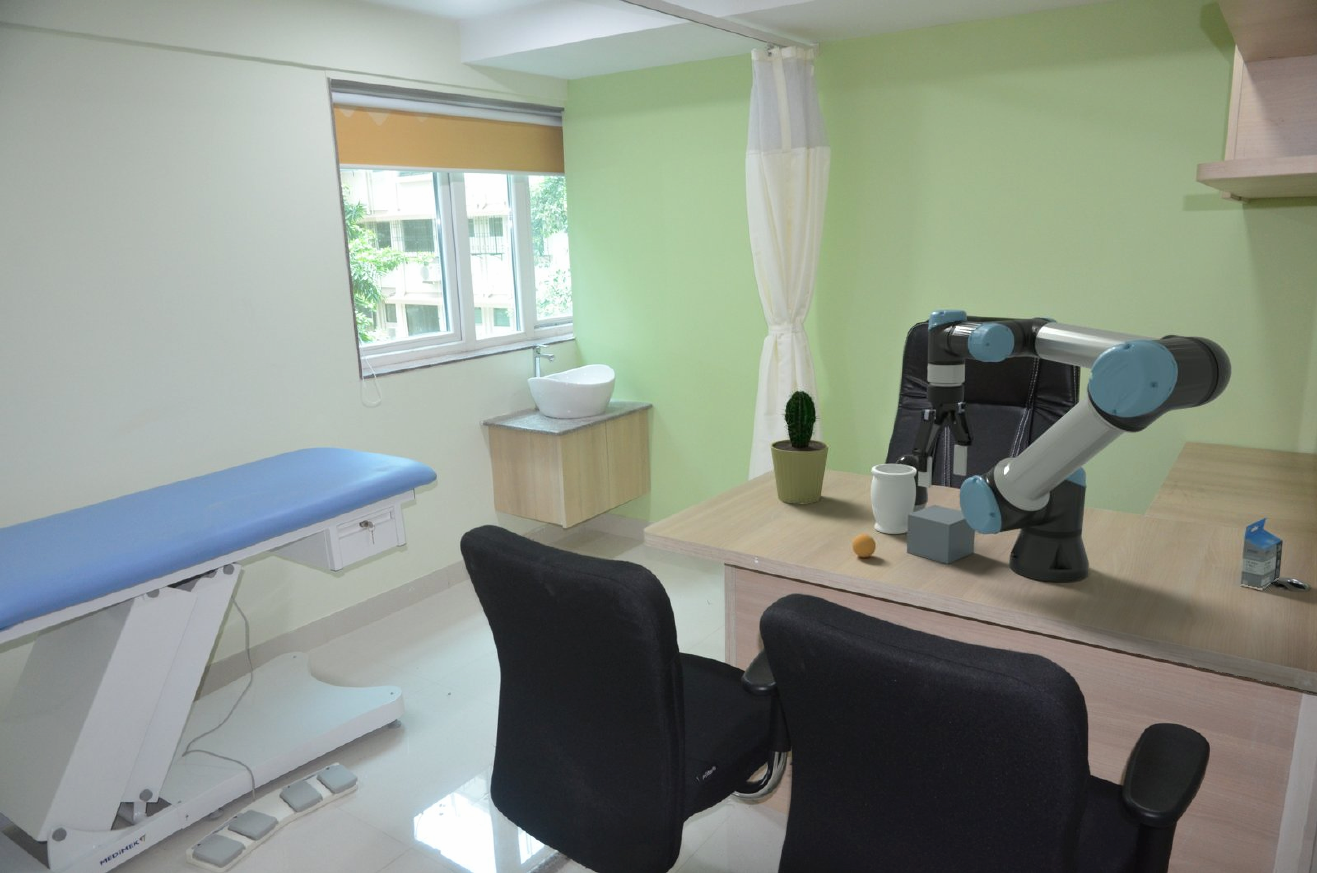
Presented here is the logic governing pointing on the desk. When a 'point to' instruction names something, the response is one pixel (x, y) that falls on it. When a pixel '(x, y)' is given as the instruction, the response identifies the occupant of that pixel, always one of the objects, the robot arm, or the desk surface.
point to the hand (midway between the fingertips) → (942, 480)
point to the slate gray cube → (939, 534)
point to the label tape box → (1260, 556)
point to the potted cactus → (799, 453)
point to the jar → (893, 497)
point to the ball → (864, 545)
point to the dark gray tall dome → (920, 490)
